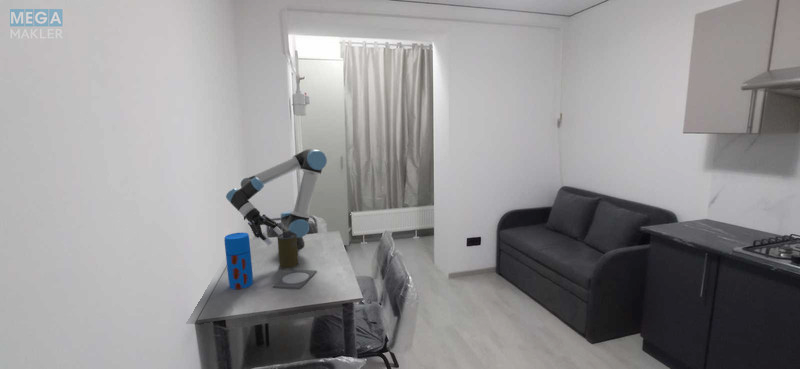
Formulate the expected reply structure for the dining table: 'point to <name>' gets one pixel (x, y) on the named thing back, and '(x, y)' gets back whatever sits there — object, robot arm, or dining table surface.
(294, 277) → the circle mat
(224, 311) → the dining table surface
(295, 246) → the canister
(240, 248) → the thermos
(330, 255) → the dining table surface
